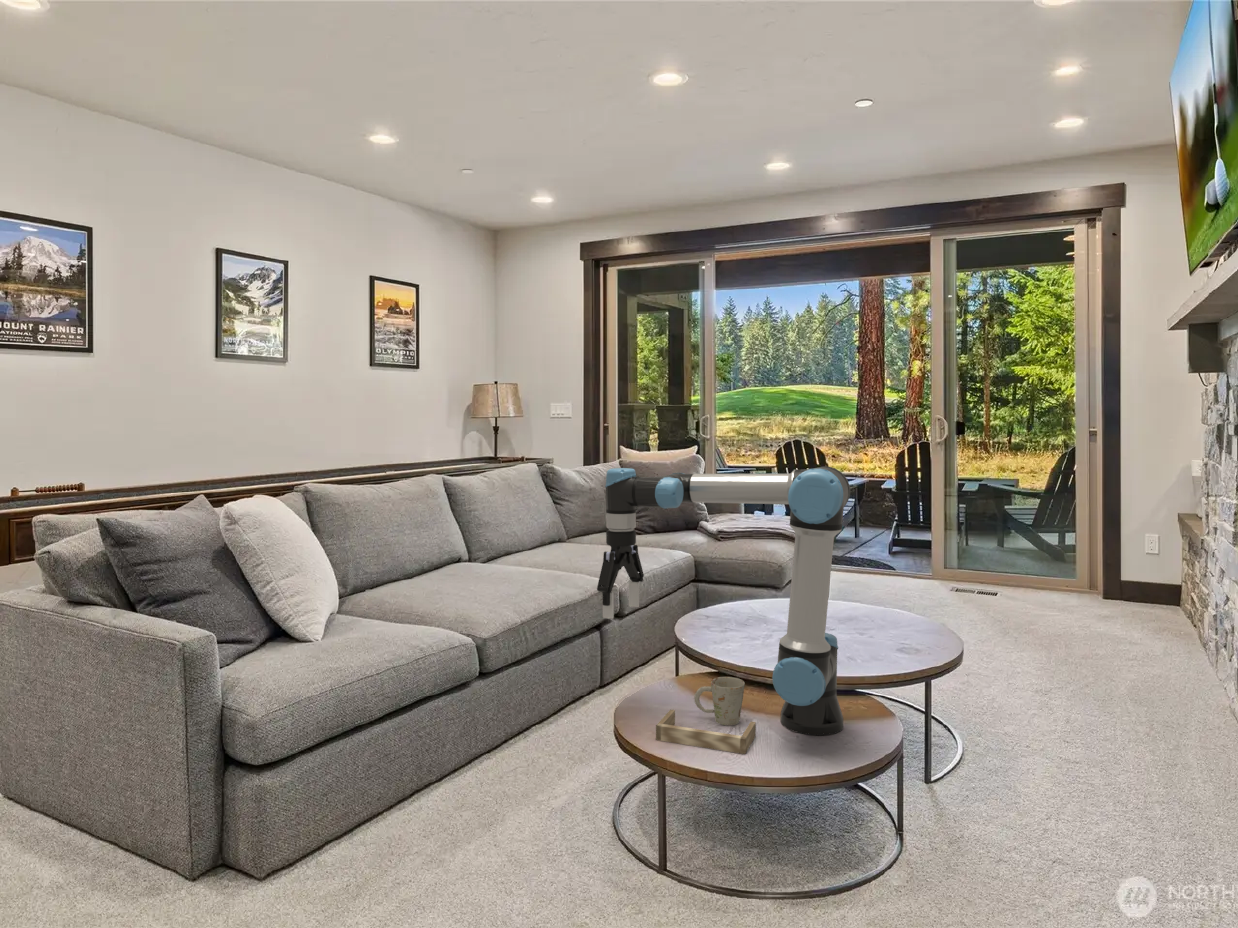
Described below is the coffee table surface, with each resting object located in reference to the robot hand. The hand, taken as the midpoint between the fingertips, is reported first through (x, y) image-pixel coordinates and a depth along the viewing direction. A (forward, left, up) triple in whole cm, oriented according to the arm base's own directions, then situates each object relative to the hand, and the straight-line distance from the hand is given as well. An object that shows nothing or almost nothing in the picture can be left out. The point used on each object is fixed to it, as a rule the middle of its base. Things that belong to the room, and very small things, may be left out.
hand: (621, 612), depth 206 cm
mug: (-24, -5, -27) cm, 36 cm away
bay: (-24, +7, -27) cm, 37 cm away
